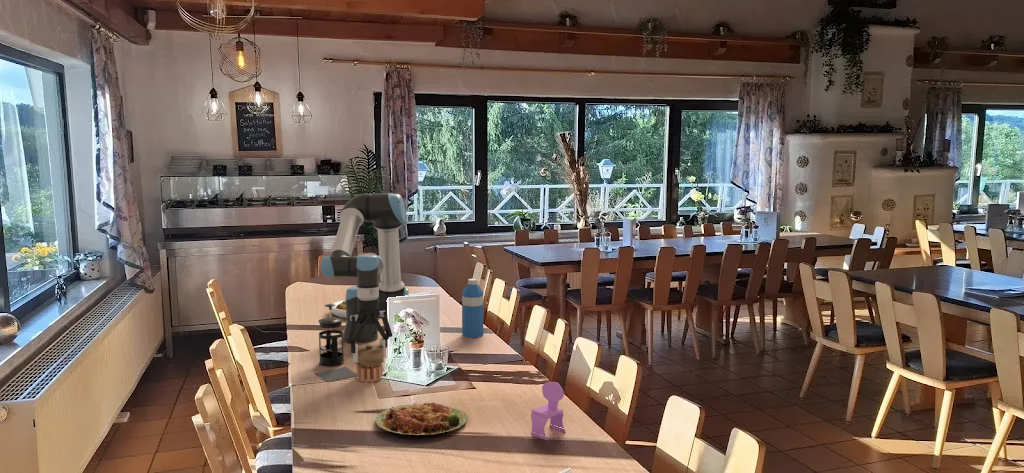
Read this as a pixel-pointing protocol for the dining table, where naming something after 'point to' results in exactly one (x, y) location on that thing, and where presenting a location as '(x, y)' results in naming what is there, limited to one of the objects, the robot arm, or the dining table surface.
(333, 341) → the french press
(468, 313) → the water bottle
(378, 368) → the orange ridged cylinder
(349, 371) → the mat
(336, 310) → the bowl
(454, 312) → the dining table surface
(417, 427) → the rice dish
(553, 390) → the toy chair
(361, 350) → the tan squat cylinder
